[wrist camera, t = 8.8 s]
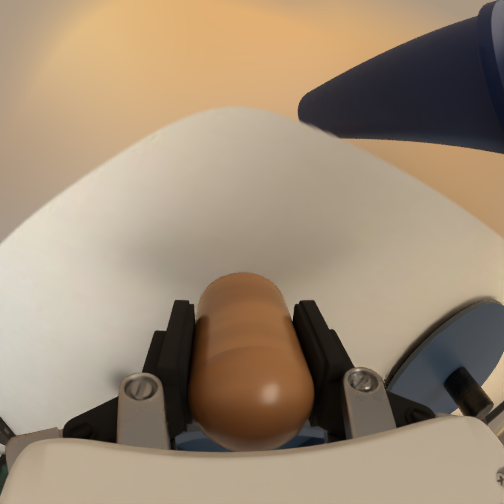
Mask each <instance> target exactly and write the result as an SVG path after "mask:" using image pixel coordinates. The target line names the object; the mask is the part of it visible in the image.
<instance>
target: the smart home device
mask: <svg viewBox="0 0 504 504" xmlns="http://www.w3.org/2000/svg"><path fill="white" fill-rule="evenodd" d="M15 436H16V435H15V434H14V433H13V432H12V431H11V430H10V429H9V427H8V426H7V425H6V424H5V423H4V421H3V420H2V419H1V418H0V443H1V444H3V445H5V446H6V444H7V442H8V440H10V439H11V438H12V437H15Z"/></svg>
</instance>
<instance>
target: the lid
mask: <svg viewBox="0 0 504 504" xmlns="http://www.w3.org/2000/svg"><path fill="white" fill-rule="evenodd" d="M503 352H504V306H503V305H502V304H501V303H499V302H497V301H492V300H487V301H482V302H479V303H476V304H473V305H471V306H469V307H467V308H466V309H464V310H462V311H461V312H459V313H457V314H456V315H454V316H453V317H452V318H450V319H449V320H448V321H446V322H445V323H444V324H443V325H441V326H440V327H439V328H438V329H437V330H435V331H434V332H433V333H432V334H431V335H430V336H429V337H428V338H427V339H426V340H425V341H424V342H423V343H422V344H421V345H420V346H419V347H418V348H417V349H416V350H415V351H414V352H413V353H412V354H411V355H410V357H409V358H408V359H407V360H406V361H405V362H404V364H403V365H402V366H401V367H400V369H399V370H398V371H397V373H396V374H395V376H394V377H393V378H392V380H391V382H390V383H389V385H388V387H387V388H386V390H387V391H389V392H392V393H394V394H397V395H399V396H402V397H404V398H407V399H409V400H412V401H415V402H417V403H420V404H423V405H425V406H427V407H429V408H430V409H431V410H432V411H433V412H434V414H435V415H437V413H438V412H439V413H445V414H450V413H452V412H453V411H455V410H456V409H457V408H459V409H460V411H461V412H462V414H463V415H464V416H470V417H475V418H477V419H479V420H482V419H483V418H484V417H485V416H486V415H487V414H488V413H489V412H490V411H491V409H492V408H493V405H494V403H493V402H492V401H491V399H490V398H489V397H488V395H487V394H486V393H485V392H484V390H483V389H482V388H481V386H482V385H483V383H484V382H485V381H486V380H487V378H488V377H489V376H490V374H491V373H492V371H493V370H494V368H495V367H496V365H497V364H498V362H499V360H500V358H501V356H502V354H503Z"/></svg>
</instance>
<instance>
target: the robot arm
mask: <svg viewBox="0 0 504 504" xmlns="http://www.w3.org/2000/svg"><path fill="white" fill-rule="evenodd" d="M292 322H293V325H294V328H295V331H296V333H297V336H298V339H299V342H300V345H301V347H302V350H303V353H304V356H305V359H306V361H307V364H308V367H309V370H310V373H311V376H312V379H313V384H314V404H313V408H312V411H311V414H310V417H309V419H308V420H309V423H310V426H311V427H317V426H319V427H321V428H322V429H324V444H321V445H314V446H307V447H299V448H291V449H280V450H268V451H251V452H193V451H178V450H177V444H176V438H175V437H176V436H178V435H179V434H181V433H182V432H187V424H192V423H193V418H192V415H191V413H190V410H189V406H188V398H187V388H188V378H189V369H190V361H191V353H192V345H193V337H194V330H195V313H194V304H189V300H175V302H174V305H173V309H172V312H171V316H170V320H169V323H168V327H167V331H155V332H154V335H153V338H152V341H151V344H150V348H149V351H148V354H147V357H146V361H145V364H144V367H143V371H142V373H134V374H132V375H129V376H128V377H126V378H125V379H124V380H123V381H122V382H121V384H120V388H119V396H118V397H116V398H114V399H112V400H110V401H108V402H106V403H104V404H101V405H99V406H97V407H95V408H93V409H91V410H89V411H87V412H85V413H83V414H81V415H79V416H76V417H74V418H72V419H71V420H69V421H68V422H67V423H66V424H65V426H64V428H63V429H60V430H59V429H58V428H57V427H55V428H51V429H46V430H42V431H38V432H33V433H28V434H23V435H18V436H15V437H12V438H11V439H10V440H8V442H7V444H6V446H5V454H6V461H7V467H8V473H9V474H8V476H7V479H6V482H5V484H4V487H3V490H2V492H1V495H0V504H504V446H503V445H502V443H501V442H500V441H499V439H498V438H497V437H496V435H495V434H494V433H493V432H492V431H491V429H490V428H489V427H488V426H487V425H486V424H485V423H483V422H482V421H481V420H479V419H477V418H475V417H470V416H457V415H451V414H445V413H439V412H438V413H437V415H435V414H434V412H433V411H432V410H431V409H430V408H429V407H427V406H425V405H423V404H420V403H417V402H415V401H412V400H409V399H407V398H404V397H402V396H399V395H397V394H394V393H392V392H389V391H387V390H385V388H384V384H383V381H382V379H381V377H380V376H379V375H378V374H377V373H376V372H375V371H373V370H371V369H368V368H363V367H357V368H355V367H354V366H353V364H352V362H351V360H350V358H349V356H348V354H347V352H346V350H345V349H344V347H343V345H342V343H341V341H340V339H339V337H338V336H337V334H336V332H335V331H334V330H333V329H329V328H328V326H327V324H326V322H325V320H324V318H323V316H322V315H321V313H320V311H319V309H318V307H317V305H316V303H315V301H314V300H302V301H300V302H299V304H295V307H294V314H293V321H292Z"/></svg>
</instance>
